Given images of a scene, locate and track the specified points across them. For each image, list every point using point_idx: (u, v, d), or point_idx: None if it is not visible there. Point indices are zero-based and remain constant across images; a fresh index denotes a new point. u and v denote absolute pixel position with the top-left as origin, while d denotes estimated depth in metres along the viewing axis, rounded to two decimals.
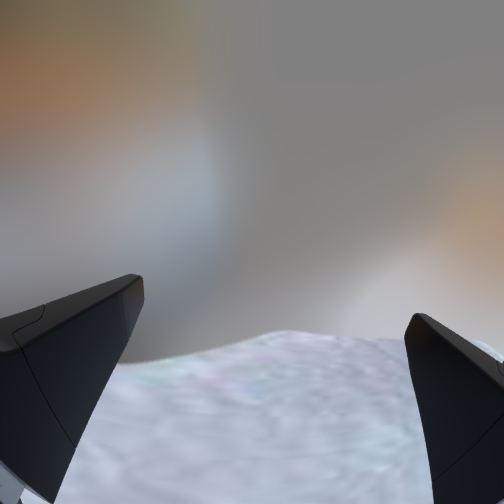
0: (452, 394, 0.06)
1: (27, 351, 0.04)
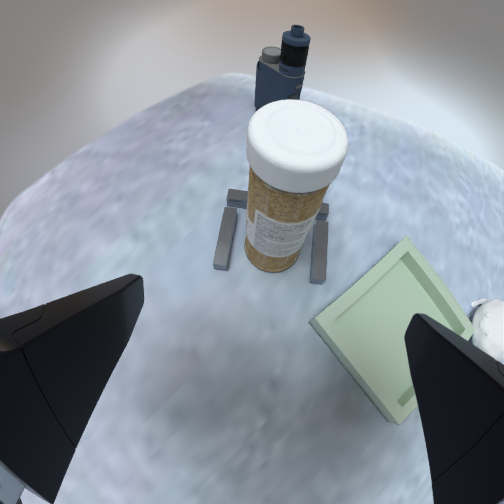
0: (452, 394, 0.06)
1: (27, 351, 0.04)
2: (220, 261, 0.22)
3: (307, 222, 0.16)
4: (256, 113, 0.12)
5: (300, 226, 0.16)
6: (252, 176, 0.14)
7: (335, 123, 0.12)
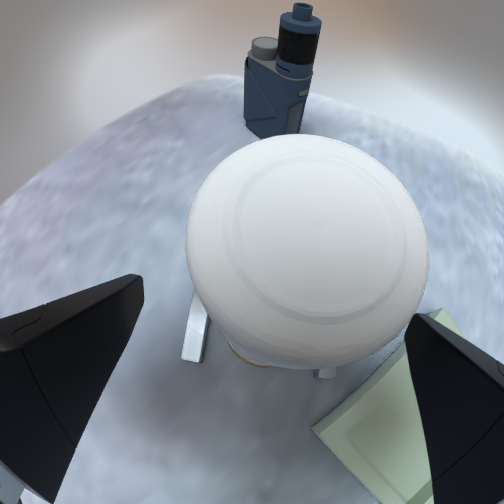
0: (452, 394, 0.06)
1: (27, 351, 0.04)
2: (191, 356, 0.15)
3: None
4: (210, 179, 0.05)
5: None
6: None
7: (402, 202, 0.05)
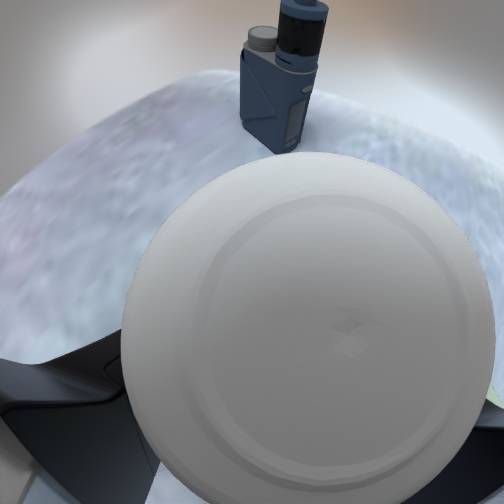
0: None
1: None
2: None
3: None
4: (157, 242, 0.03)
5: None
6: None
7: (471, 272, 0.03)
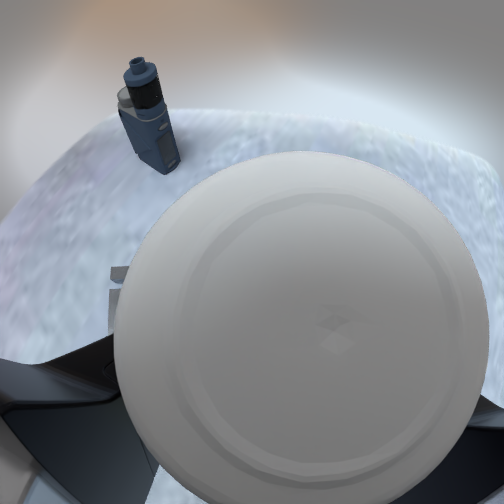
0: None
1: None
2: None
3: None
4: (148, 241, 0.03)
5: None
6: None
7: (461, 268, 0.03)
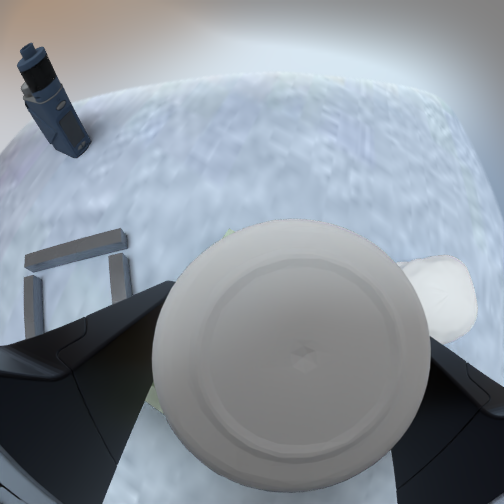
0: None
1: (78, 373, 0.04)
2: None
3: None
4: (176, 292, 0.04)
5: None
6: None
7: (408, 312, 0.04)
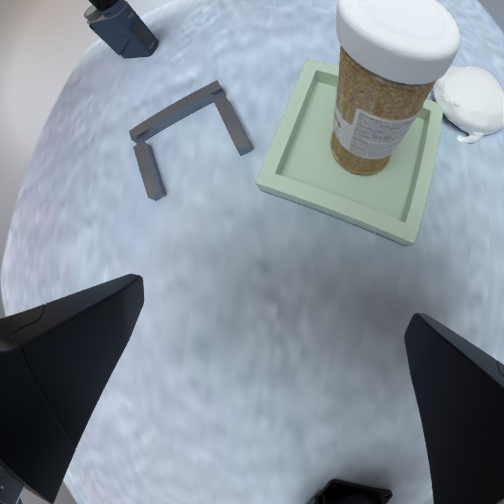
0: (452, 394, 0.06)
1: (27, 351, 0.04)
2: (153, 191, 0.21)
3: (415, 117, 0.11)
4: None
5: (409, 122, 0.11)
6: (351, 69, 0.09)
7: (435, 3, 0.06)
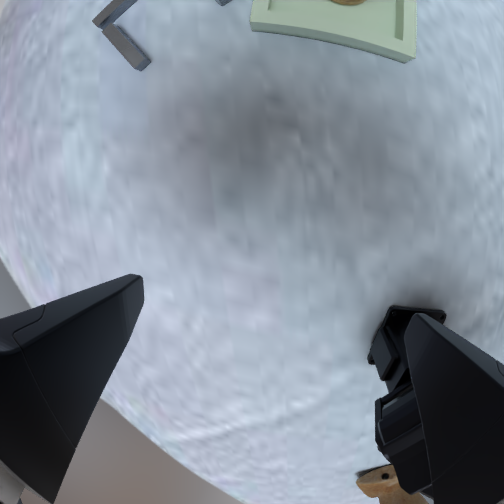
0: (452, 394, 0.06)
1: (27, 351, 0.04)
2: (138, 60, 0.16)
3: None
4: None
5: None
6: None
7: None
